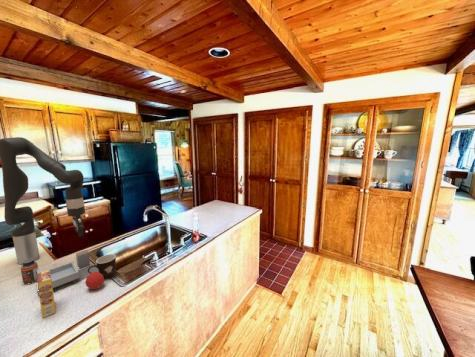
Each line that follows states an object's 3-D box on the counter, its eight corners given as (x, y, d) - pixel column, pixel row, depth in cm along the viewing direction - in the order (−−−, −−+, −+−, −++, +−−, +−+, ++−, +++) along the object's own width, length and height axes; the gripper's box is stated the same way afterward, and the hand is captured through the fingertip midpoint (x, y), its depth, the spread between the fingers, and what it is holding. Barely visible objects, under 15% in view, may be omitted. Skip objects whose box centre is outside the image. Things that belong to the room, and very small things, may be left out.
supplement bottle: (19, 286, 96) (15, 264, 95) (28, 278, 102) (25, 258, 100) (34, 283, 98) (31, 262, 96) (42, 276, 104) (39, 256, 102)
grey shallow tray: (38, 282, 98) (36, 268, 97) (74, 269, 108) (72, 257, 107) (41, 296, 89) (38, 281, 88) (80, 280, 99) (78, 267, 98)
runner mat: (36, 286, 96) (36, 285, 96) (99, 263, 115) (99, 262, 115) (38, 297, 89) (38, 296, 89) (104, 270, 108) (104, 270, 108)
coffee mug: (119, 269, 109) (117, 252, 107) (115, 279, 101) (113, 261, 99) (94, 274, 105) (92, 257, 103) (88, 284, 97) (86, 266, 95)
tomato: (84, 277, 89) (100, 265, 96) (79, 282, 93) (95, 270, 100) (96, 290, 90) (111, 277, 96) (90, 294, 93) (105, 282, 100)
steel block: (77, 266, 113) (75, 253, 112) (88, 262, 116) (86, 249, 115) (79, 269, 109) (77, 256, 108) (90, 265, 113) (88, 252, 112)
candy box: (56, 312, 80) (51, 278, 78) (42, 318, 77) (36, 284, 75) (54, 301, 87) (49, 269, 84) (41, 306, 83) (35, 274, 81)
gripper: (64, 205, 110) (68, 232, 112) (69, 210, 100) (73, 240, 103) (81, 202, 115) (84, 228, 117) (87, 207, 106) (90, 235, 108)
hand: (79, 234), depth 110 cm, fingers open, 8 cm apart
